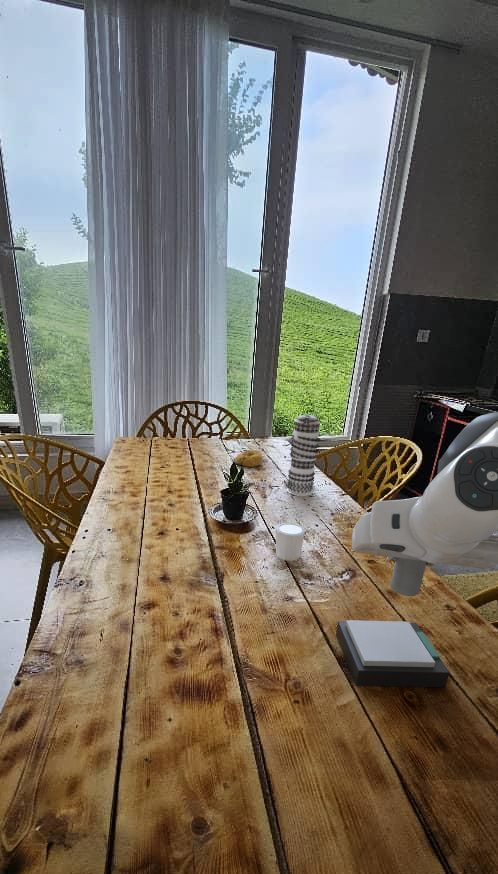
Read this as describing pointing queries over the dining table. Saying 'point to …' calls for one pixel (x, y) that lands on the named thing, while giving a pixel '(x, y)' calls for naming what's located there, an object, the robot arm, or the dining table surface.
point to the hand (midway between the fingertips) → (409, 558)
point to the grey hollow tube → (407, 576)
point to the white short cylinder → (289, 541)
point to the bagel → (249, 458)
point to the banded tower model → (303, 455)
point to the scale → (390, 654)
